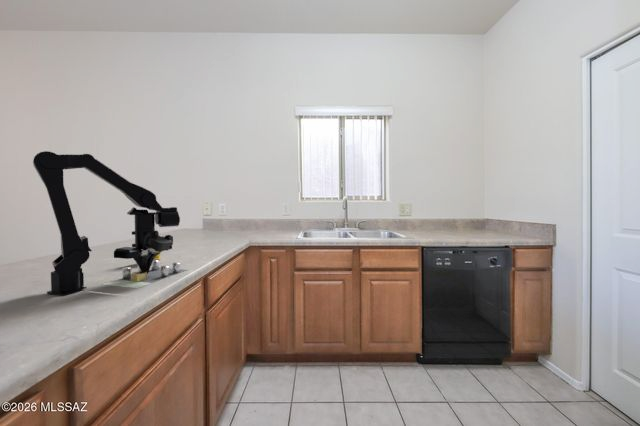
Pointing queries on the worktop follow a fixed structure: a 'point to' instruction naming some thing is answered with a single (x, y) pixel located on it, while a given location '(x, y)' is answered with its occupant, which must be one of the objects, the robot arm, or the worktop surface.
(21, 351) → the worktop surface
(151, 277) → the mat
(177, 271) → the spacers
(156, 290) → the worktop surface
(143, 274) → the nut
